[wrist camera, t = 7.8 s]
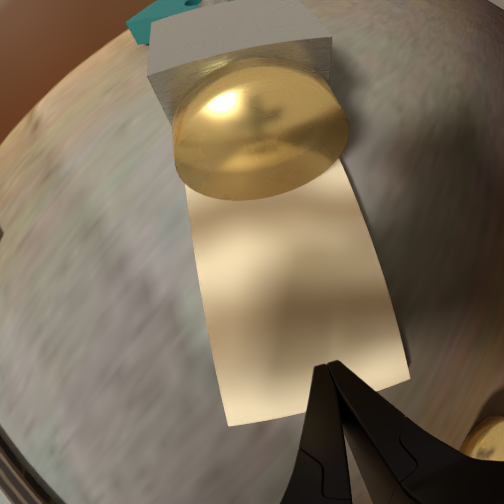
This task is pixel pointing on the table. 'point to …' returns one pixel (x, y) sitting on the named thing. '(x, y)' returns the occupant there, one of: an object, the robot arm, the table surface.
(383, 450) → the robot arm
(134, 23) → the teal saddle bracket
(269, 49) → the bearing block
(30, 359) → the table surface
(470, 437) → the spacer
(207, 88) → the shaft
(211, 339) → the board
